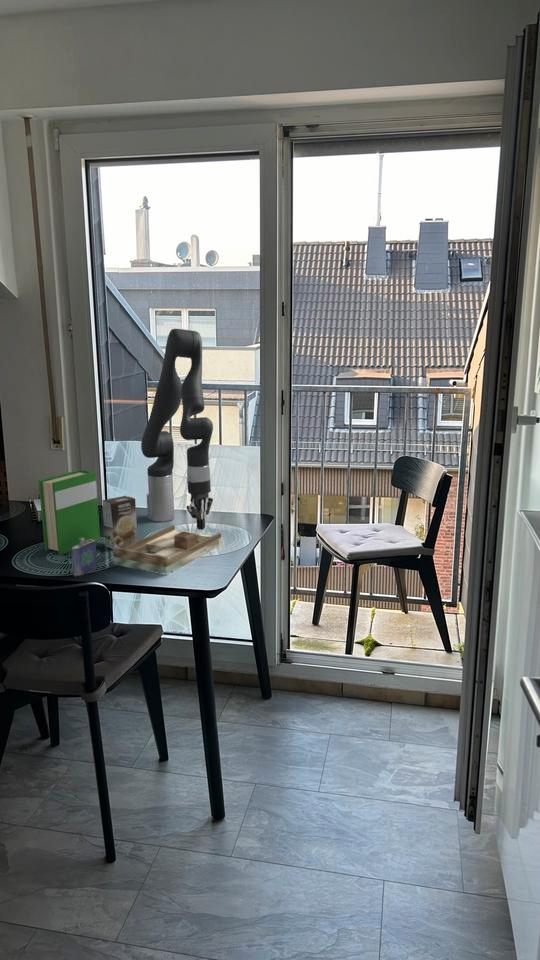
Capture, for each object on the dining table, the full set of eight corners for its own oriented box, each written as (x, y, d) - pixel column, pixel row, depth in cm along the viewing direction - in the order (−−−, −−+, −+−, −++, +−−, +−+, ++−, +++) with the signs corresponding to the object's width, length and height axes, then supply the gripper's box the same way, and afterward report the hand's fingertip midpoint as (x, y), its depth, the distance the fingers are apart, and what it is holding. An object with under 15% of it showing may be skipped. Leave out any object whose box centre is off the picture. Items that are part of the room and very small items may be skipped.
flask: (78, 577, 204) (75, 543, 202) (70, 575, 206) (67, 541, 203) (99, 567, 212) (97, 534, 210) (92, 566, 214) (89, 533, 211)
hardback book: (60, 554, 224) (54, 483, 218) (45, 550, 228) (38, 480, 222) (100, 539, 238) (95, 472, 233) (85, 535, 242) (80, 469, 236)
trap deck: (114, 564, 214) (113, 547, 213) (172, 536, 241) (172, 521, 240) (166, 575, 205) (165, 557, 204) (221, 544, 232) (220, 528, 231)
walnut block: (174, 547, 222) (174, 535, 221) (183, 543, 226) (183, 531, 225) (187, 549, 219) (187, 538, 218) (196, 545, 224) (195, 533, 223)
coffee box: (114, 550, 227) (111, 503, 223) (104, 546, 231) (101, 500, 228) (138, 544, 233) (135, 498, 229) (127, 539, 238) (125, 494, 234)
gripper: (200, 473, 232) (202, 522, 236) (177, 481, 221) (180, 533, 225) (219, 475, 229) (221, 525, 233) (197, 483, 218) (199, 536, 222)
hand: (201, 529), depth 229 cm, fingers closed
